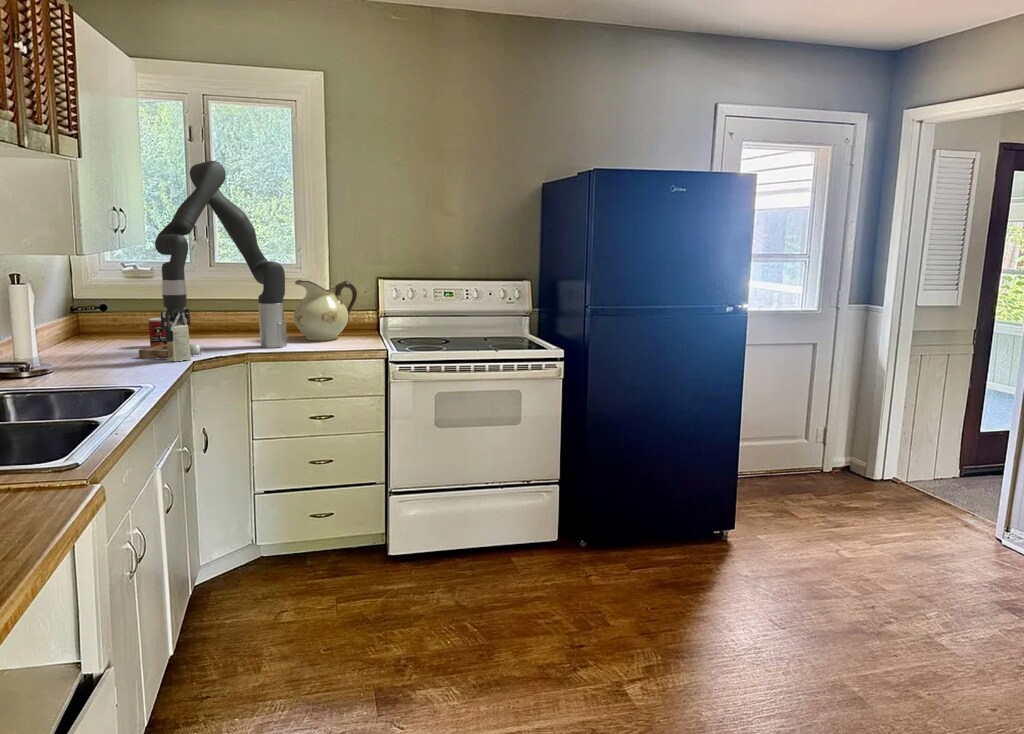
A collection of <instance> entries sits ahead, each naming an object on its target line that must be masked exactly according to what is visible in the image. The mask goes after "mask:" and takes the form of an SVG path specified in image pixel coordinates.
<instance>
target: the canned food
mask: <svg viewBox="0 0 1024 734" xmlns="http://www.w3.org/2000/svg"><path fill="white" fill-rule="evenodd" d="M165 325H166V324H165V322H164V326H165ZM170 326H171V325H170ZM148 332H149V345H150V347H153V346H157V345H161V344H162V345H167V341H166V331H165V330H164V329H161V317H154V318H153V317H152V318H148Z"/></svg>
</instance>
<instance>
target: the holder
mask: <svg viewBox="0 0 1024 734" xmlns="http://www.w3.org/2000/svg"><path fill="white" fill-rule="evenodd" d="M138 357H139V358H138V359H142V358H168V348H167V345H162V344H161V345H157V346H153V347H151V346H150V347H146V348H142V349H138Z"/></svg>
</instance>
